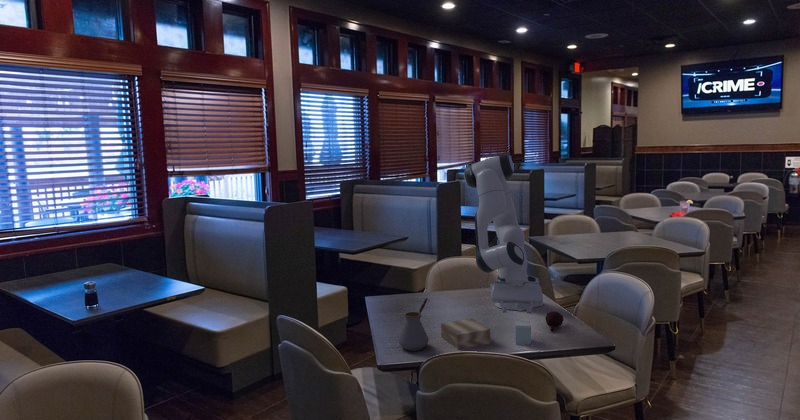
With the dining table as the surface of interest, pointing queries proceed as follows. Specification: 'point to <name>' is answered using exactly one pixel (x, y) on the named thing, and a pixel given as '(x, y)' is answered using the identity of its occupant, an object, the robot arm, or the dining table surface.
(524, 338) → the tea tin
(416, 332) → the coffee pot
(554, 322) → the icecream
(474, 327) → the oak box
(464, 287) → the dining table surface
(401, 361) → the dining table surface
